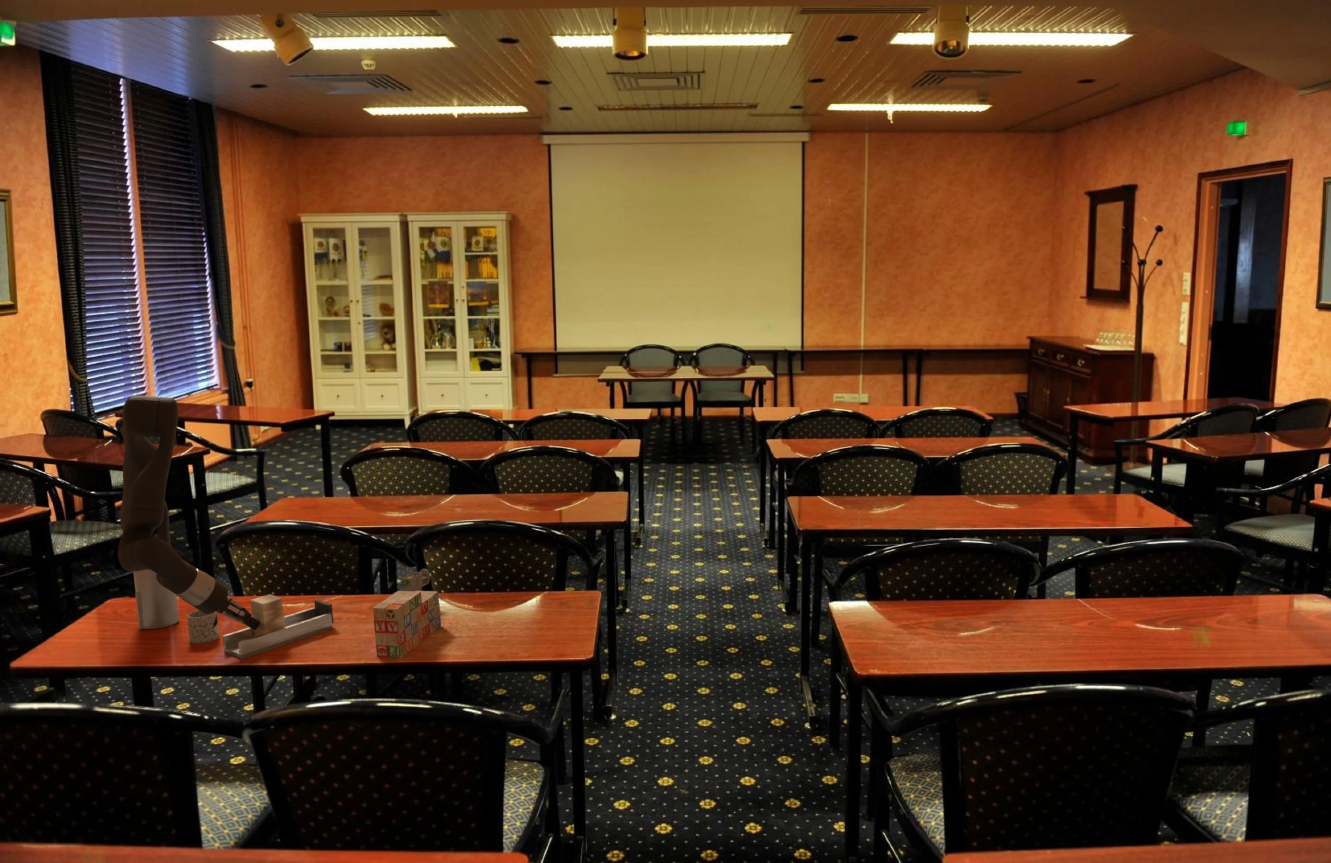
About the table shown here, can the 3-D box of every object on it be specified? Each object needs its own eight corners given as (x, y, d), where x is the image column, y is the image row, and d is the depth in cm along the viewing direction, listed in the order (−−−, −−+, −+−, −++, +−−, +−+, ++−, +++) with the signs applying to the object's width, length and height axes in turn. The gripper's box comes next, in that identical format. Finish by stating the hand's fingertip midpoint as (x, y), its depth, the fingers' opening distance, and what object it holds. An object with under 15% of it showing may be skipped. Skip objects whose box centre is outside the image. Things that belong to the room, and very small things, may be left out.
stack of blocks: (419, 625, 248) (415, 578, 246) (441, 626, 247) (438, 579, 245) (376, 657, 228) (372, 606, 226) (400, 658, 226) (396, 608, 224)
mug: (222, 639, 242) (219, 613, 241) (193, 645, 238) (190, 620, 237) (212, 628, 250) (209, 603, 249) (184, 634, 246) (181, 609, 245)
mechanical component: (433, 603, 264) (431, 568, 262) (412, 616, 254) (409, 579, 253) (424, 602, 265) (421, 567, 263) (402, 615, 255) (399, 578, 254)
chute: (242, 659, 229) (239, 634, 228) (224, 651, 234) (221, 627, 233) (336, 627, 248) (334, 605, 247) (317, 621, 253) (315, 598, 252)
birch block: (266, 643, 235) (262, 604, 233) (254, 638, 238) (250, 599, 237) (285, 637, 238) (281, 598, 237) (273, 632, 242) (269, 594, 240)
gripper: (225, 581, 221) (280, 617, 233) (197, 571, 230) (252, 607, 241) (204, 610, 218) (261, 645, 230) (177, 599, 227) (233, 633, 238)
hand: (256, 625), depth 235 cm, fingers closed
